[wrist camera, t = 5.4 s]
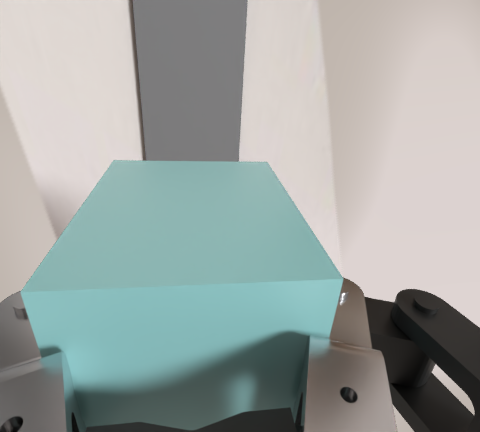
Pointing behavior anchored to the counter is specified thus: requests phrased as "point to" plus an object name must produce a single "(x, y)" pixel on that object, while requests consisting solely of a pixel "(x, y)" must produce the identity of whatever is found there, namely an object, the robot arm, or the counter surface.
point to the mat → (191, 77)
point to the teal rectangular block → (183, 294)
